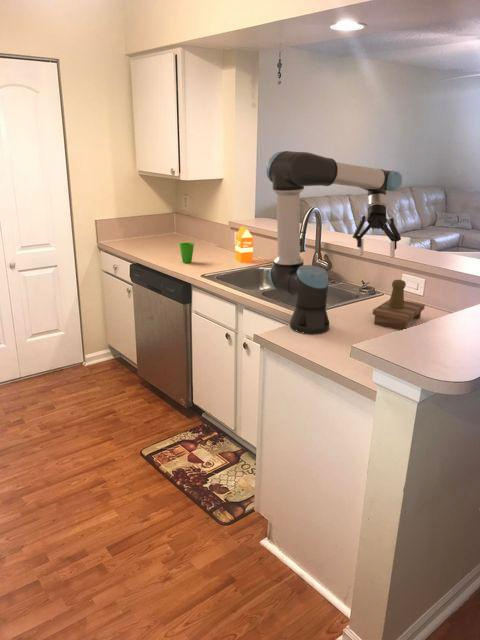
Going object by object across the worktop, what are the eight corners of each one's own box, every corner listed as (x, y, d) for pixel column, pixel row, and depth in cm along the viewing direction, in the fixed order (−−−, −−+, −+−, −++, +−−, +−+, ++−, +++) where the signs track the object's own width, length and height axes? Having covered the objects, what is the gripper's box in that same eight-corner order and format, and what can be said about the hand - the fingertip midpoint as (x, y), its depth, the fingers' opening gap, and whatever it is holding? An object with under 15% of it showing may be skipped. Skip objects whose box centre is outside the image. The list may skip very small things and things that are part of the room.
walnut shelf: (406, 331, 197) (408, 316, 195) (371, 323, 204) (373, 309, 202) (422, 318, 212) (424, 304, 210) (390, 311, 220) (391, 298, 218)
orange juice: (246, 258, 312) (247, 225, 306) (252, 261, 305) (253, 227, 298) (235, 259, 310) (235, 226, 303) (240, 262, 302) (241, 228, 295)
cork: (401, 304, 209) (404, 278, 205) (406, 309, 203) (409, 282, 200) (386, 304, 209) (389, 278, 205) (390, 309, 203) (394, 282, 200)
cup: (192, 264, 295) (192, 245, 292) (177, 263, 297) (176, 244, 293) (196, 261, 304) (196, 242, 300) (181, 260, 305) (181, 242, 302)
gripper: (401, 211, 221) (401, 260, 219) (345, 207, 218) (344, 256, 216) (409, 206, 214) (409, 256, 212) (351, 201, 211) (351, 252, 208)
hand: (376, 256), depth 214 cm, fingers open, 13 cm apart
